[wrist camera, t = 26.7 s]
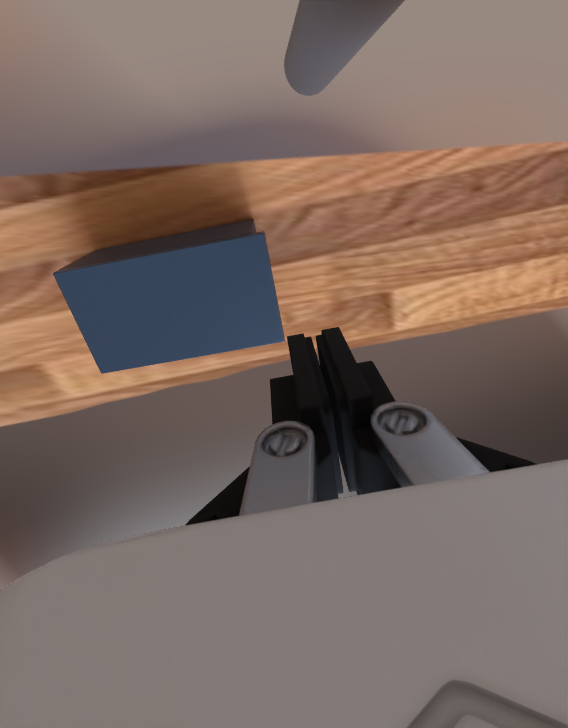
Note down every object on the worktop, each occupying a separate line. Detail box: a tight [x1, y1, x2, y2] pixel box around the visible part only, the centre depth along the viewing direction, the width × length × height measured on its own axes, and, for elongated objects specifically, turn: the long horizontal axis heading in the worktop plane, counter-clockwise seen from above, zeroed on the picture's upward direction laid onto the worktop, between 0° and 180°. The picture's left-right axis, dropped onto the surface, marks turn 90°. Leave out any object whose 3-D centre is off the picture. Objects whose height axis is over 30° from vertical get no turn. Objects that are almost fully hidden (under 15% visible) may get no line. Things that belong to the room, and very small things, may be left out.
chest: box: [60, 219, 256, 270], centre depth 34 cm, size 15×9×8 cm, turn 100°
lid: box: [53, 231, 285, 374], centre depth 30 cm, size 16×9×1 cm, turn 100°
